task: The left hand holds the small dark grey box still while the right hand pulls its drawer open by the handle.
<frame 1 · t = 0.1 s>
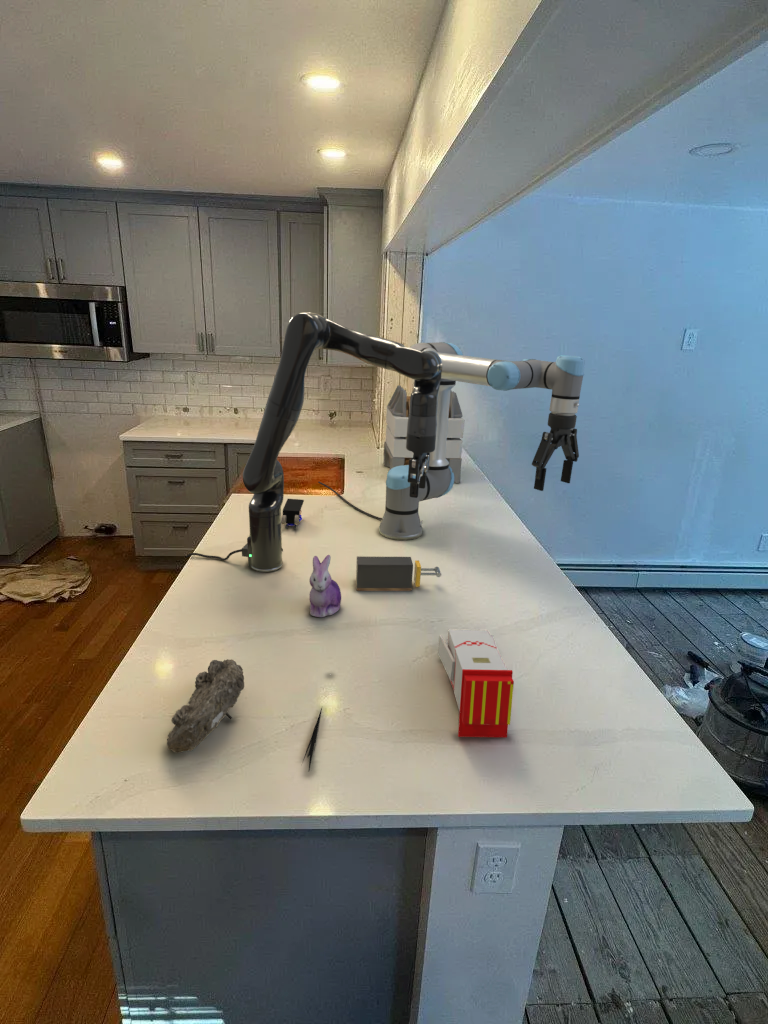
left hand: (417, 492, 150), 29 cm above the counter, tool pointing down, fingers open, 8 cm apart
right hand: (552, 485, 166), 28 cm above the counter, tool pointing down, fingers open, 13 cm apart
fossil: (212, 717, 108), on the counter
feather: (319, 719, 109), on the counter
dark grey box: (383, 586, 162), on the counter
toy: (469, 691, 119), on the counter
figurine character: (292, 524, 204), on the counter
transformer: (419, 473, 275), on the counter
drawer: (404, 573, 161), point 4 cm above the counter, slide at 1.2 cm
figurine: (324, 609, 148), on the counter
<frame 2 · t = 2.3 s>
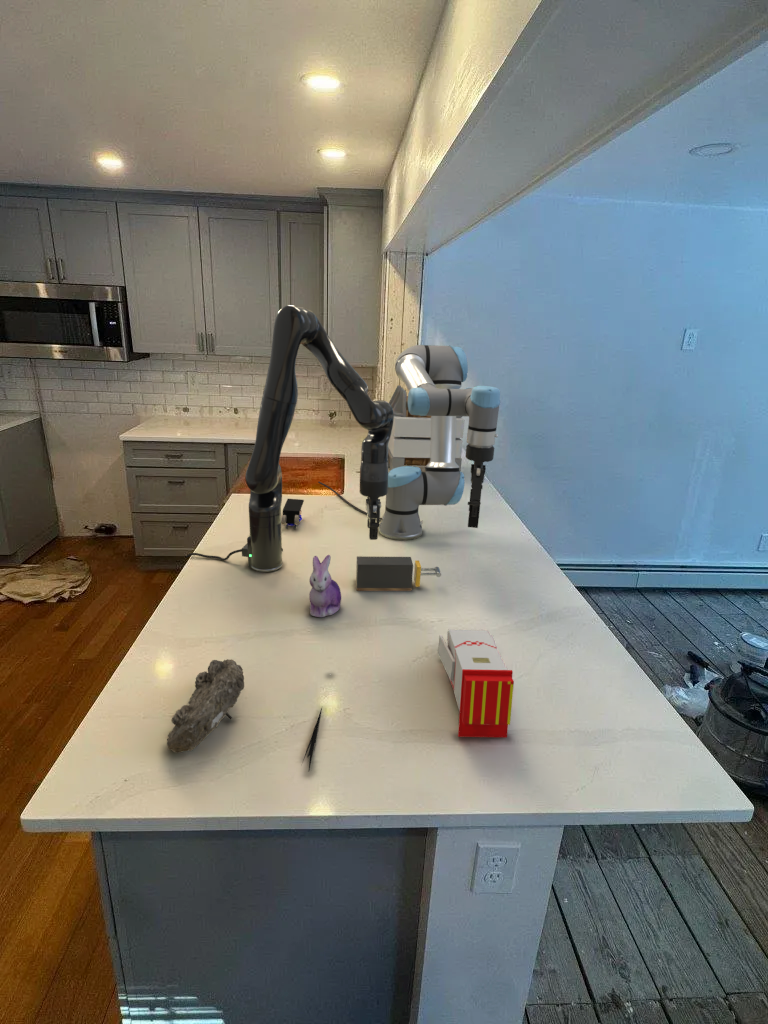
left hand: (372, 533, 156), 16 cm above the counter, tool pointing down, fingers open, 8 cm apart
right hand: (473, 518, 160), 20 cm above the counter, tool pointing down, fingers open, 13 cm apart
nothing on the counter moved.
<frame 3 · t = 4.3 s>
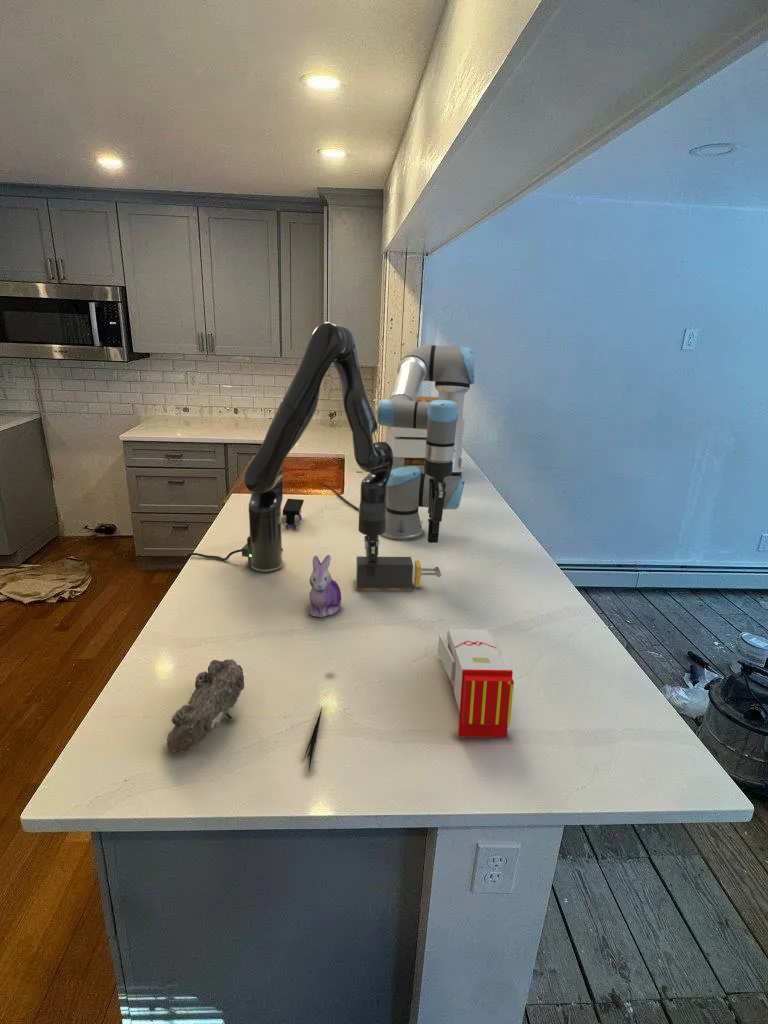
left hand: (370, 571, 160), 5 cm above the counter, tool pointing down, fingers closed on dark grey box, 5 cm apart
right hand: (432, 541, 158), 14 cm above the counter, tool pointing down, fingers closed
dark grey box: (383, 586, 162), on the counter, touching left hand
everything else where it was.
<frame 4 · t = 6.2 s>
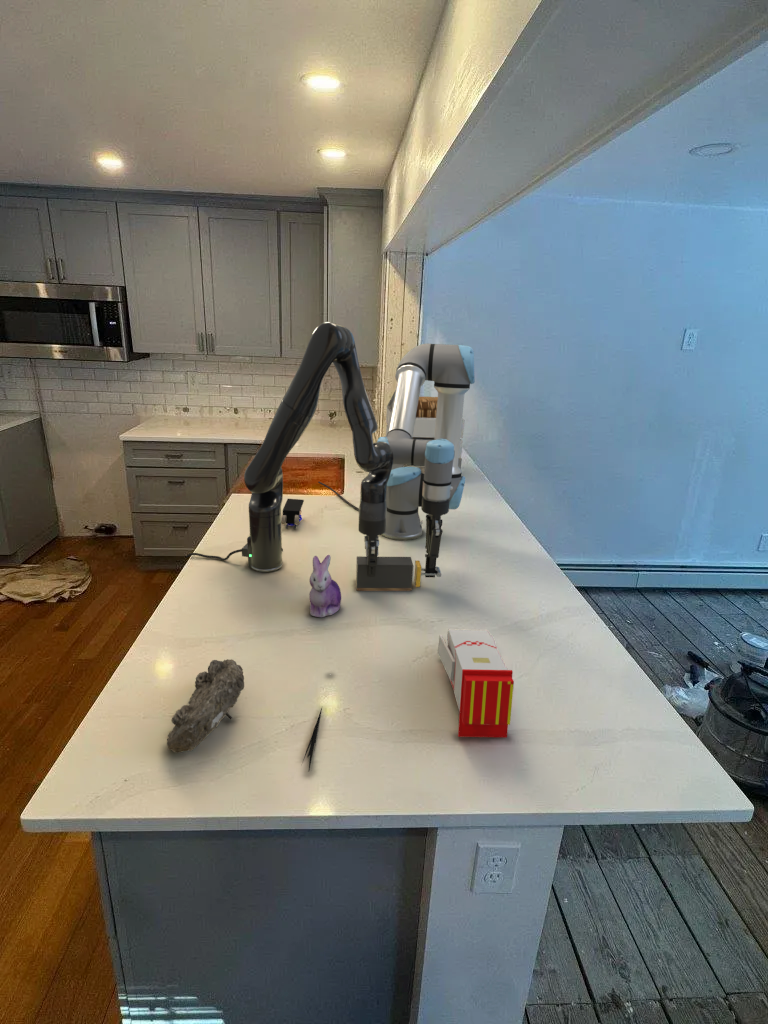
left hand: (370, 571, 160), 5 cm above the counter, tool pointing down, fingers closed on dark grey box, 5 cm apart
right hand: (429, 576, 162), 3 cm above the counter, tool pointing down, fingers closed
dark grey box: (383, 586, 162), on the counter, touching left hand
drawer: (404, 573, 161), point 4 cm above the counter, slide at 1.3 cm, touching right hand
everything else where it was.
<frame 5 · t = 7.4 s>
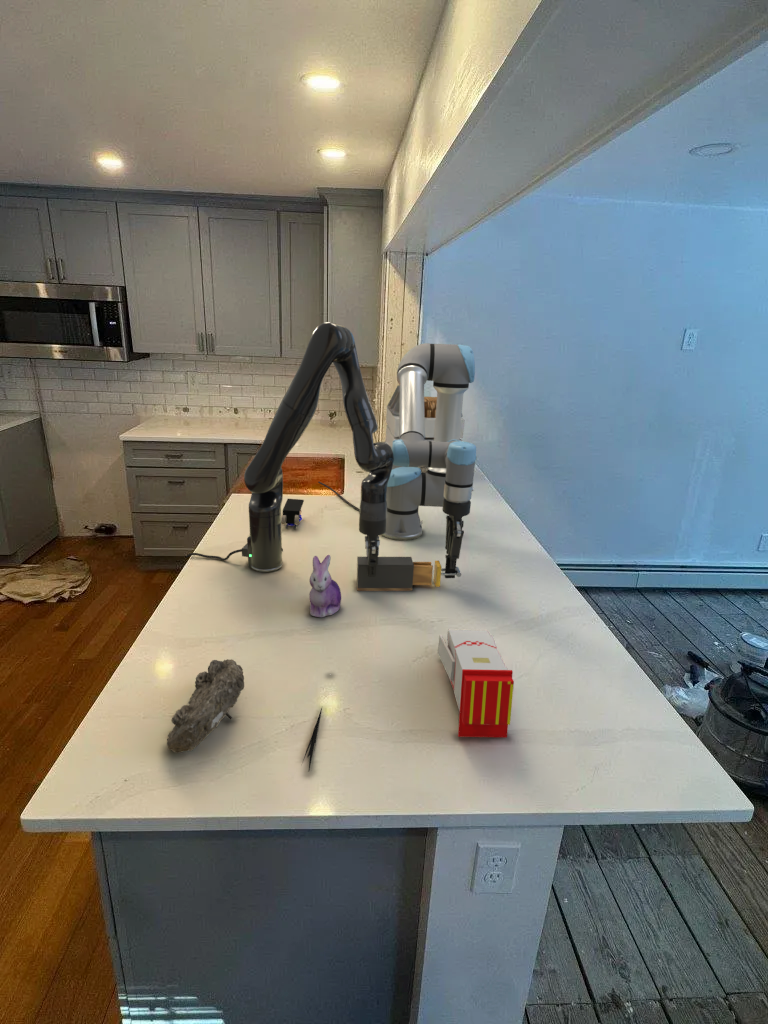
left hand: (371, 571, 160), 5 cm above the counter, tool pointing down, fingers closed on dark grey box, 5 cm apart
right hand: (449, 576, 163), 3 cm above the counter, tool pointing down, fingers closed
dark grey box: (384, 586, 162), on the counter, touching left hand
drawer: (424, 573, 162), point 4 cm above the counter, slide at 6.8 cm, touching right hand
everything else where it was.
when the left hand's fingers open (5 cm above the counter, at t = 9.0 s): dark grey box stays where it is, on the counter.
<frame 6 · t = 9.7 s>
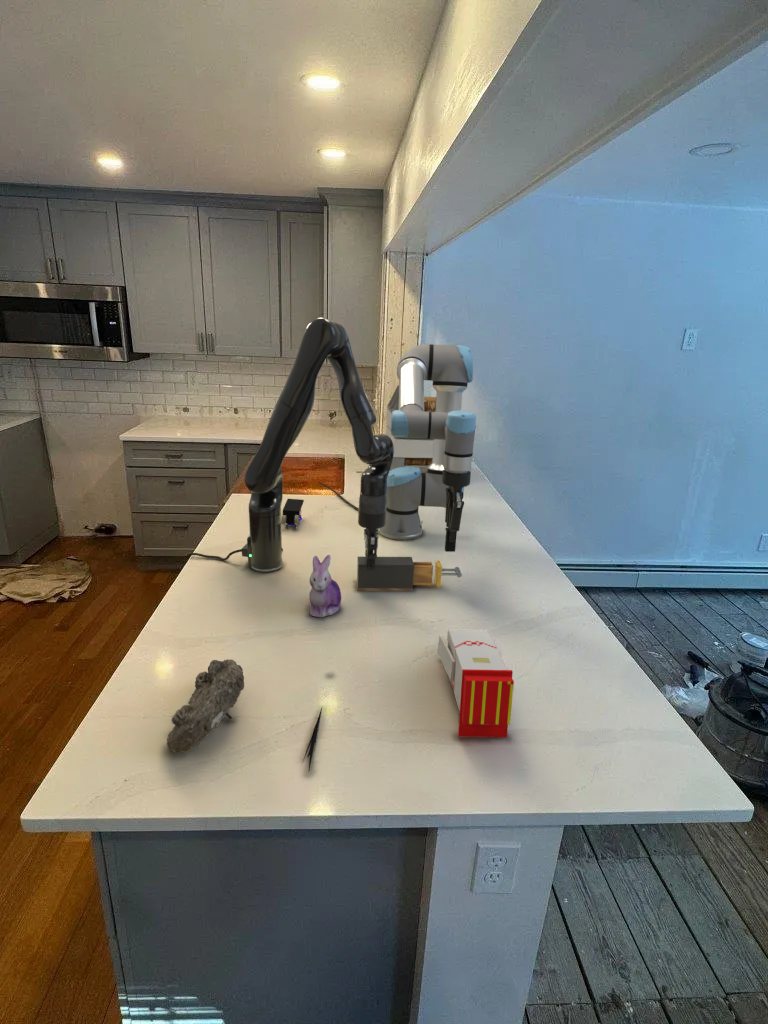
left hand: (369, 562, 159), 7 cm above the counter, tool pointing down, fingers open, 8 cm apart
right hand: (449, 550, 160), 11 cm above the counter, tool pointing down, fingers closed
dark grey box: (384, 586, 162), on the counter
drawer: (425, 573, 162), point 4 cm above the counter, slide at 6.9 cm
everything else where it was.
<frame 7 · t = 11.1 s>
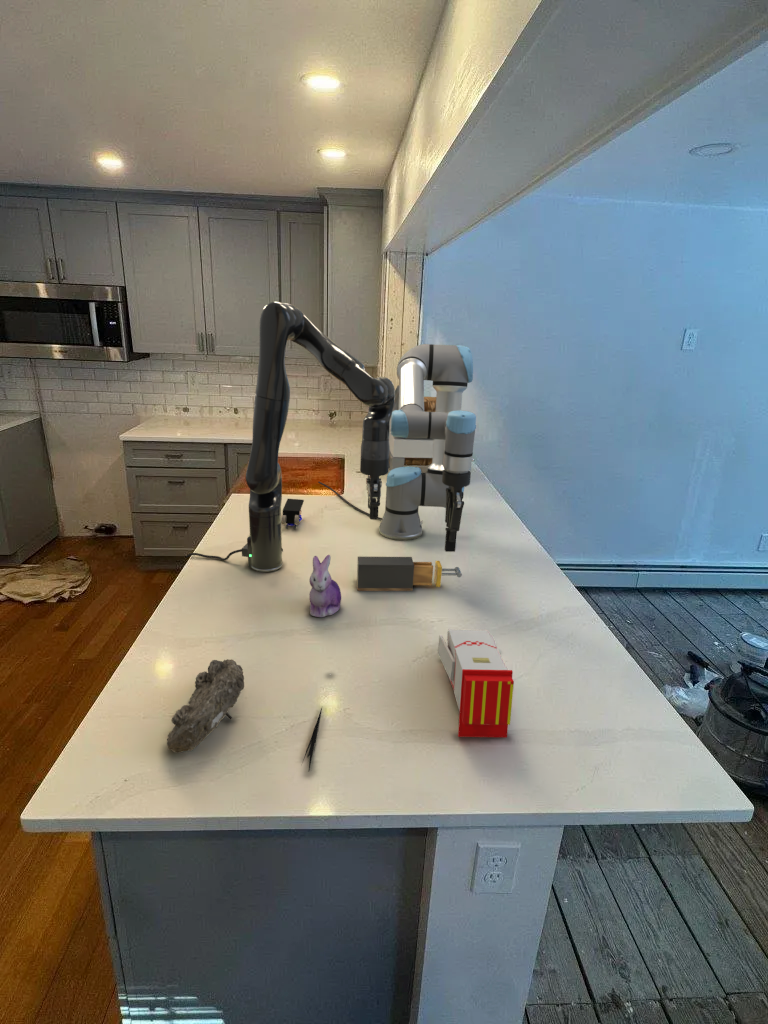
left hand: (372, 513, 154), 22 cm above the counter, tool pointing down, fingers open, 8 cm apart
right hand: (449, 550, 160), 11 cm above the counter, tool pointing down, fingers closed
nothing on the counter moved.
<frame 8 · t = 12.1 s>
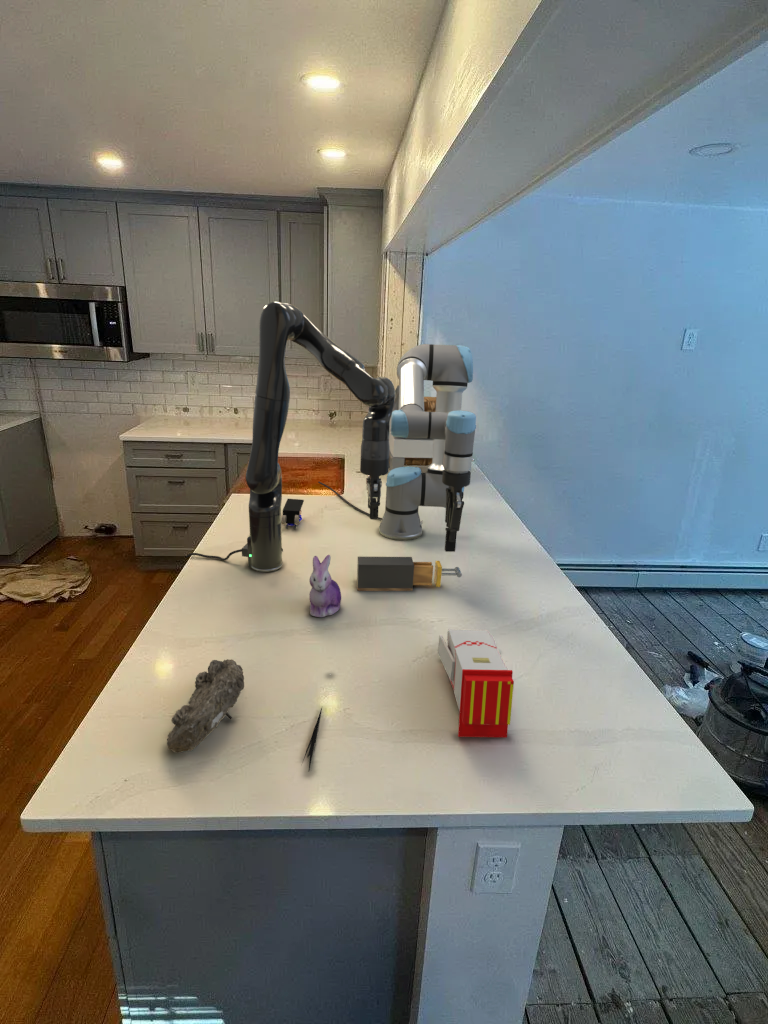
left hand: (372, 513, 154), 22 cm above the counter, tool pointing down, fingers open, 8 cm apart
right hand: (449, 550, 160), 11 cm above the counter, tool pointing down, fingers closed
nothing on the counter moved.
at the end: drawer slide at 6.9 cm; dark grey box tilted 0°; dark grey box never tilted more than 1° during the clip; dark grey box moved 0.3 cm from its start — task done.
